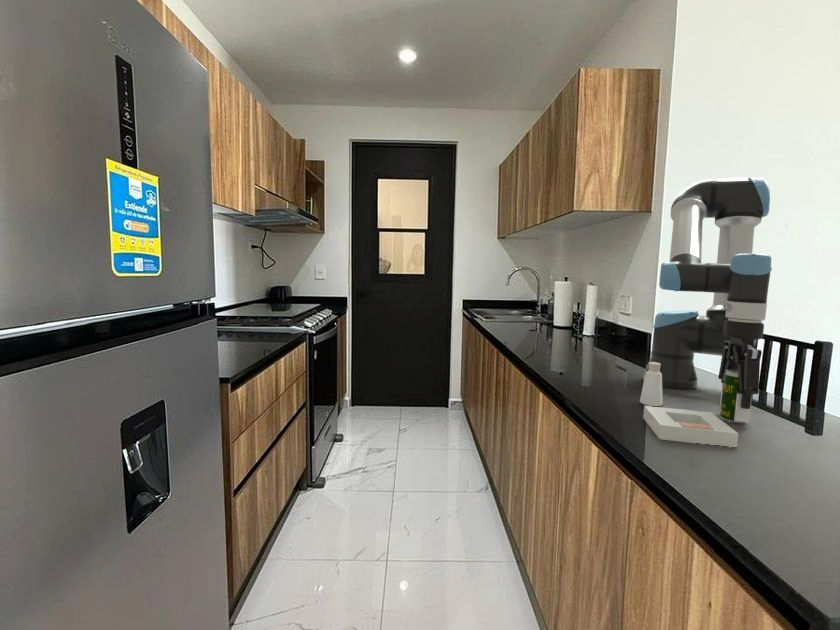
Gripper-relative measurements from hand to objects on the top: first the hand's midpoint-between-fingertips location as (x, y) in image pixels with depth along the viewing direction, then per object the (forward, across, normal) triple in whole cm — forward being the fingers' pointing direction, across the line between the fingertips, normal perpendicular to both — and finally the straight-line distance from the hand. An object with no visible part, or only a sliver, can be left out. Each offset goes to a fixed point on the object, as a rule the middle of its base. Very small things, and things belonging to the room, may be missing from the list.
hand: (733, 415), depth 106 cm
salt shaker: (+1, -8, -16) cm, 18 cm away
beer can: (+1, 0, 0) cm, 1 cm away
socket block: (+1, +13, -14) cm, 19 cm away
